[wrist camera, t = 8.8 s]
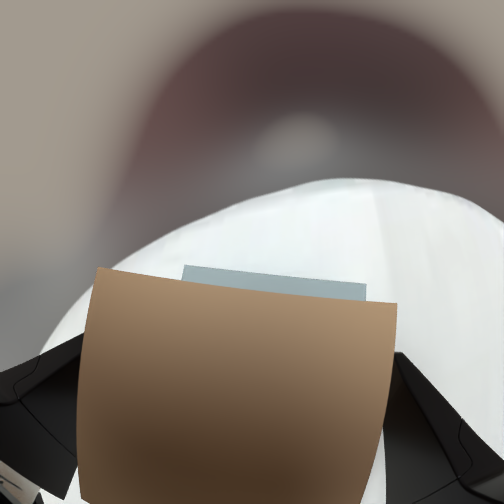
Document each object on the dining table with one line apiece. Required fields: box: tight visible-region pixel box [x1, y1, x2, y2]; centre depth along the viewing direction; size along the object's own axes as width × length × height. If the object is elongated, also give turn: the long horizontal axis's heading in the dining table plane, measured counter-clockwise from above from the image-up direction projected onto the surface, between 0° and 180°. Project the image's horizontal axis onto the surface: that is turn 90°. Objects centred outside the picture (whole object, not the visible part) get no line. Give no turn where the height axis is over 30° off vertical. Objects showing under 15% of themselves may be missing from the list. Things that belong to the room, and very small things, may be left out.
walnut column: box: [76, 267, 397, 504], centre depth 9 cm, size 5×5×13 cm
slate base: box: [181, 265, 366, 301], centre depth 17 cm, size 12×12×3 cm
